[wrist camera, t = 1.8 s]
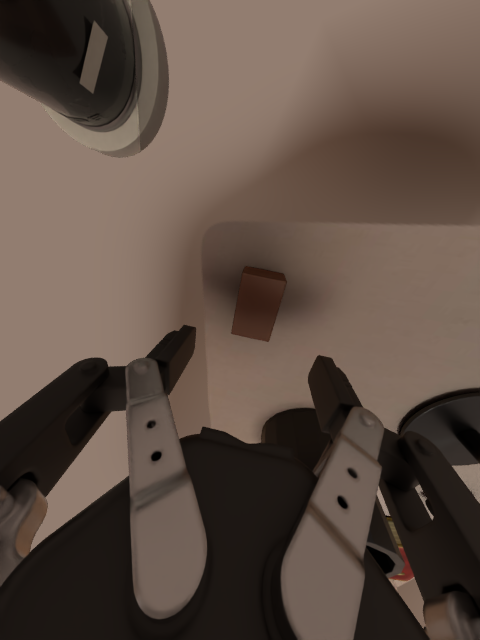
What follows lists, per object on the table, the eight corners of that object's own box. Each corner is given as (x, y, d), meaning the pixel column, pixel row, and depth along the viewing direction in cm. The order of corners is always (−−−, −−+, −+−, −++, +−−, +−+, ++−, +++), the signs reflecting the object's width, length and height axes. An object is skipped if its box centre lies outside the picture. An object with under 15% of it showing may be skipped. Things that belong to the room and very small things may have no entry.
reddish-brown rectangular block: (245, 265, 19) (242, 272, 16) (284, 273, 19) (287, 281, 16) (235, 320, 22) (231, 334, 19) (268, 328, 22) (268, 342, 19)
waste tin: (274, 399, 27) (280, 520, 16) (366, 420, 27) (438, 559, 15) (254, 449, 33) (249, 560, 22) (329, 466, 33) (361, 588, 22)
